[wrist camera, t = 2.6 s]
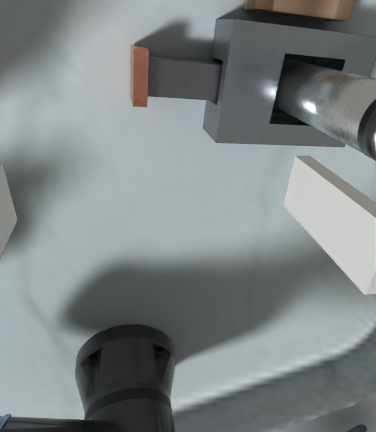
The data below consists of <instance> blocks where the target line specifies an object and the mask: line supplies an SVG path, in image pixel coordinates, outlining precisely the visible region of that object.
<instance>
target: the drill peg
mask: <svg viewBox="0 0 376 432" xmlns="http://www.w3.org/2000/svg"><path fill="white" fill-rule="evenodd" d="M273 106H274V107H276V108H278V109H280V110H282V111H284V112H286V113H288V114H290V115H292V116H293V117H295V118H297V119H299V120H301V121H303V122H305V123H307V124H309V125H311V126H312V127H314V128H316V129H318V130H320V131H322V132H324V133H326V134H328V135H330V136H331V137H333V138H335V139H337V140H339V141H341V142H343V143H345V144H347V145H349V146H350V147H352V148H354V149H356V150H358V151H360V152H362V153H364V154H365V155H366V156H368V157H370V158H372V159H373V160H375V161H376V79H374V78H370V77H365V76H361V75H356V74H352V73H347V72H342V71H338V70H333V69H329V68H324V67H320V66H315V65H311V64H306V63H302V62H297V61H292V60H283V65H282V69H281V73H280V78H279V82H278V87H277V91H276V96H275V100H274V105H273Z"/></svg>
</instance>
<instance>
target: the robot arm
mask: <svg viewBox="0 0 376 432" xmlns="http://www.w3.org/2000/svg"><path fill="white" fill-rule="evenodd" d="M284 206H285V207H286V208H287V209H288V210H289V212H290V213H291V214H292V215H293V216H294V217H295V218H296V219H297V220H298V222H299V223H300V224H301V225H302V226H303V227H304V228H305V229H306V230H307V232H308V233H309V234H310V235H311V236H312V237H313V238H314V239H315V240H316V242H317V243H318V244H319V245H320V246H321V247H322V248H323V249H324V250H325V251H326V253H327V254H328V255H329V256H330V257H331V258H332V259H333V260H334V261H335V263H336V264H337V265H338V266H339V267H340V268H341V269H342V270H343V271H344V273H345V274H346V275H347V276H348V277H349V278H350V279H351V280H352V281H353V283H354V284H355V285H356V286H357V287H358V288H359V289H360V290H361V291H362V292H363V294H364V295H369V294H376V203H375V202H374V201H372V200H371V199H370V198H368V197H367V196H365V195H364V194H363V193H361V192H360V191H358V190H357V189H356V188H354V187H353V186H351V185H350V184H349V183H347V182H346V181H344V180H343V179H342V178H340V177H339V176H337V175H336V174H335V173H333V172H332V171H330V170H329V169H327V168H326V167H325V166H323V165H322V164H320V163H319V162H318V161H316V160H315V159H313V158H312V157H311V156H295V159H294V163H293V167H292V172H291V176H290V180H289V184H288V188H287V193H286V197H285V201H284ZM16 222H17V216H16V212H15V209H14V205H13V201H12V197H11V194H10V190H9V186H8V182H7V178H6V175H5V171H4V167H3V163H0V257H1V255H2V253H3V250H4V248H5V246H6V244H7V242H8V240H9V237H10V235H11V233H12V231H13V229H14V227H15V224H16ZM174 369H175V355H174V350H173V345H172V343H171V341H170V340H169V338H168V337H167V336H166V335H165V334H163V333H162V332H160V331H158V330H156V329H153V328H150V327H145V326H122V327H117V328H113V329H109V330H106V331H104V332H102V333H99V334H98V335H96V336H94V337H93V338H91V339H90V340H89V341H87V342H86V343H85V344H84V345H83V347H82V348H81V349H80V351H79V353H78V355H77V359H76V369H75V378H76V382H77V386H78V389H79V393H80V397H81V400H82V404H83V408H84V411H85V418H84V420H78V419H50V418H30V417H11V414H7V415H5V416H0V432H175V427H174V421H173V415H172V409H171V402H170V395H171V389H172V382H173V376H174Z"/></svg>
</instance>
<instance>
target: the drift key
mask: <svg viewBox="0 0 376 432" xmlns="http://www.w3.org/2000/svg"><path fill="white" fill-rule="evenodd" d="M222 66H223V64H221V63H218V62H210V61H200V60H189V59H178V58H167V57H156V56H149V50H148V49H147V48H145V47H142V46H132V45H131V100H132V104H133V106H138V107H147V96H153V97H168V98H184V99H199V100H214V101H218V95H219V88H220V80H221V73H222Z"/></svg>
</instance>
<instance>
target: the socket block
mask: <svg viewBox="0 0 376 432" xmlns="http://www.w3.org/2000/svg"><path fill="white" fill-rule="evenodd" d="M285 53H287V54H297V55H306V56H315V60H314V64H313V65H315V66H320V67H324V68H329V69H333V70H338V71H342V72H347V73H352V74H356V75H361V76H365V77H369V76H370V73H371V70H372V67H373V65H374V62H375V59H376V37H373V36H365V35H357V34H350V33H342V32H334V31H326V30H318V29H310V28H302V27H294V26H286V25H278V24H270V23H262V22H254V21H246V20H238V19H216V25H215V34H214V42H213V50H212V57H214V58H217V59H220V60H222V61H223V66H222V73H221V80H220V88H219V95H218V101H214V100H206V107H205V116H204V124H203V129H204V130H205V131H206V132H207V133H208V134H209V136H210V137H211V138H212V139H213V140H214V141H215V142H216V143H237V144H266V145H296V146H325V147H345V143H343V142H341V141H339V140H337V139H335V138H333V137H331V136H330V135H328V134H326V133H324V132H322V131H320V130H318V129H316V128H314V127H312V126H311V125H309V124H307V123H305V122H303V121H301V120H299V119H297V118H295V117H293V116H292V115H290V114H286V113H272V109H273V105H274V100H275V96H276V91H277V87H278V82H279V78H280V73H281V69H282V65H283V60H284V56H285Z"/></svg>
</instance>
